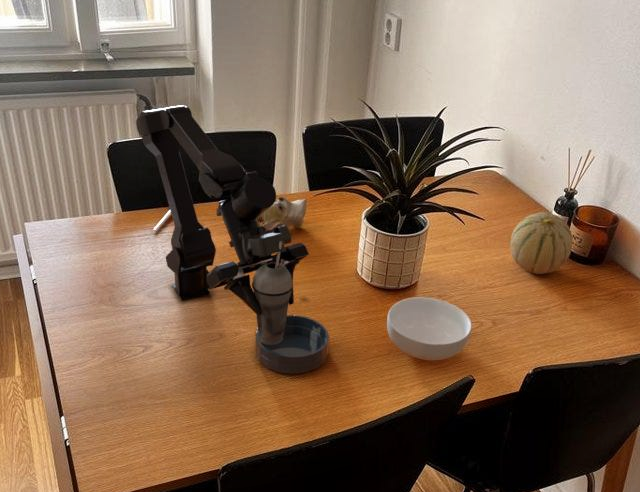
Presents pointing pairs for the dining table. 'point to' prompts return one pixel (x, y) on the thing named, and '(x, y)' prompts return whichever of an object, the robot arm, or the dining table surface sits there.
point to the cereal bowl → (428, 328)
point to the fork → (162, 221)
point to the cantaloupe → (541, 243)
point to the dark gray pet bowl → (295, 347)
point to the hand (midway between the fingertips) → (276, 309)
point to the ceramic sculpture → (283, 214)
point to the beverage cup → (272, 300)
